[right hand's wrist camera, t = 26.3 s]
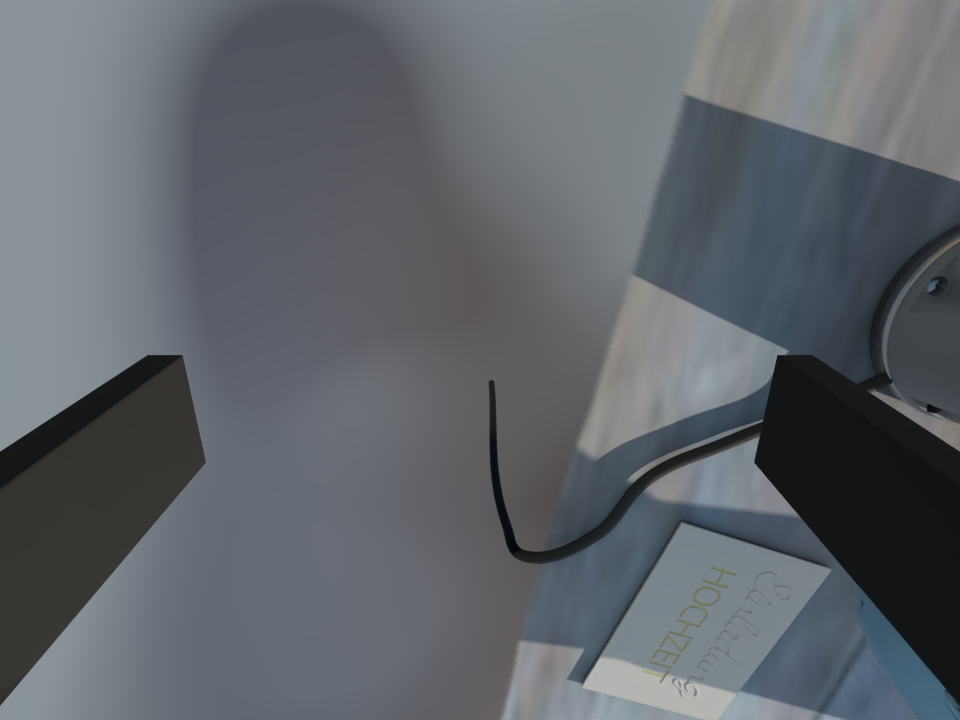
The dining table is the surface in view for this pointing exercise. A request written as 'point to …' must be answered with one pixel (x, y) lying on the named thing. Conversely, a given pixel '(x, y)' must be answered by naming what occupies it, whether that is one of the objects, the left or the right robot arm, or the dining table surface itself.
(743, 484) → the dining table surface
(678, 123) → the dining table surface
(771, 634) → the invitation card
